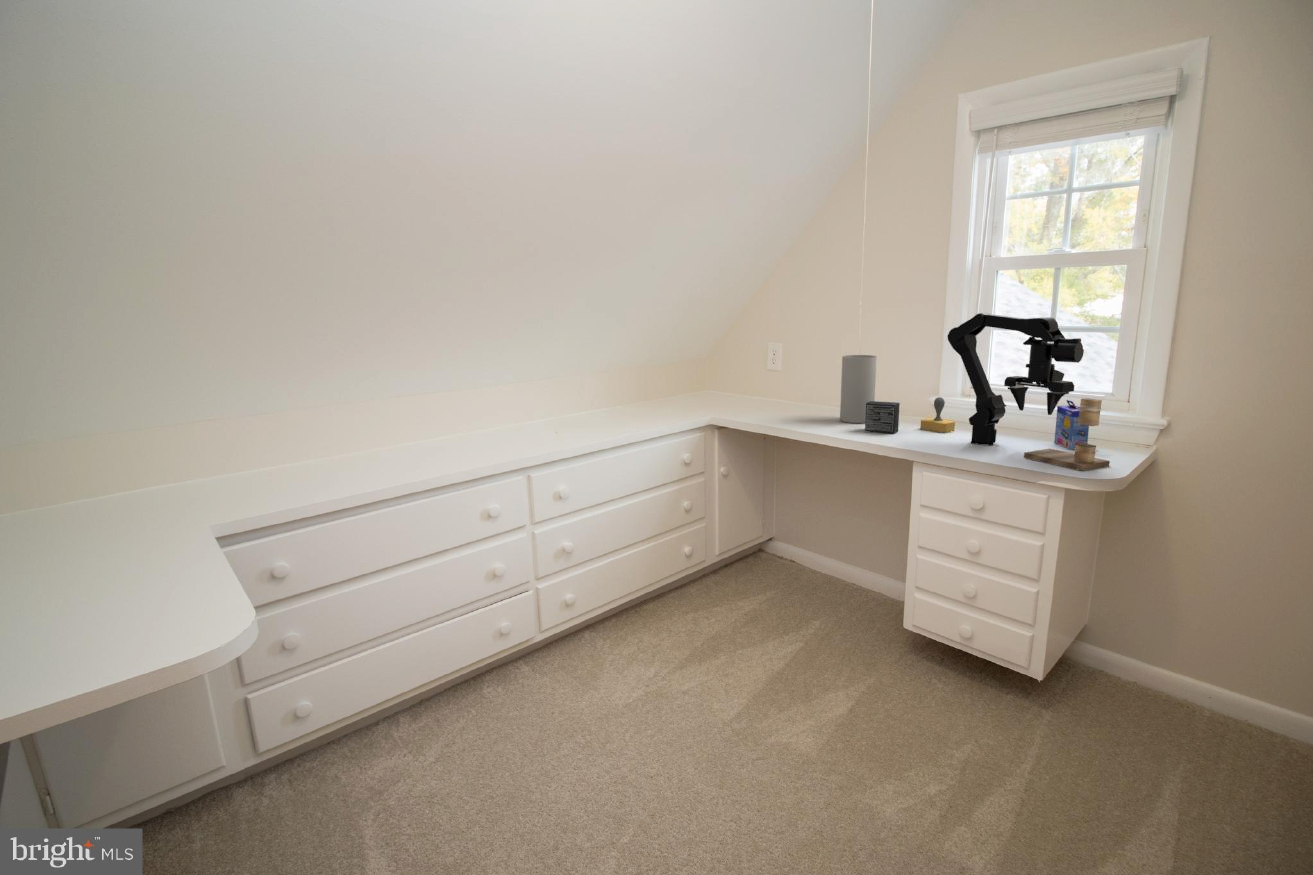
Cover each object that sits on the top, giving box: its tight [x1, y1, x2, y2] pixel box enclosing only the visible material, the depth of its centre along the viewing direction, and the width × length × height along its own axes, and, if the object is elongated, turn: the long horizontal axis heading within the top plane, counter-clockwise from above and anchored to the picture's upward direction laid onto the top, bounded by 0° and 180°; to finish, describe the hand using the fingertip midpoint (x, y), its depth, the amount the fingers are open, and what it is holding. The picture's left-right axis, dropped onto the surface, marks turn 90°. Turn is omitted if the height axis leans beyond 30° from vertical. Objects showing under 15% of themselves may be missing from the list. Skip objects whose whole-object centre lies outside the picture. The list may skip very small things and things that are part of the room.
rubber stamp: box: [919, 396, 956, 434], centre depth 230 cm, size 10×6×12 cm, turn 34°
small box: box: [864, 401, 900, 435], centre depth 230 cm, size 11×6×10 cm, turn 58°
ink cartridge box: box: [1054, 399, 1090, 450], centre depth 201 cm, size 10×6×14 cm, turn 174°
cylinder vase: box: [839, 354, 878, 425], centre depth 249 cm, size 12×12×25 cm
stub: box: [1078, 397, 1103, 427], centre depth 177 cm, size 4×2×7 cm, turn 24°
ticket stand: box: [1023, 443, 1111, 471], centre depth 184 cm, size 18×11×6 cm, turn 24°
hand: (1035, 412), depth 195 cm, fingers open, 9 cm apart
